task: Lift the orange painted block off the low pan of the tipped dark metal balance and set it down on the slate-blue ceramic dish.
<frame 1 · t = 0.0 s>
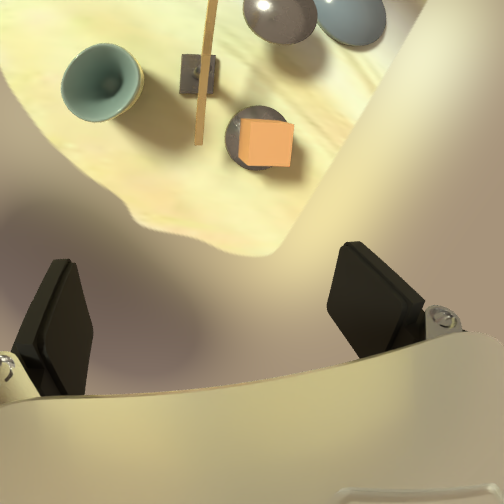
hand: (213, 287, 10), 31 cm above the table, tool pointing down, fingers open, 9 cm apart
block: (258, 138, 38), point 1 cm above the table, touching balance
cup: (115, 85, 31), on the table
balance: (260, 77, 35), on the table
dish: (348, 9, 32), on the table
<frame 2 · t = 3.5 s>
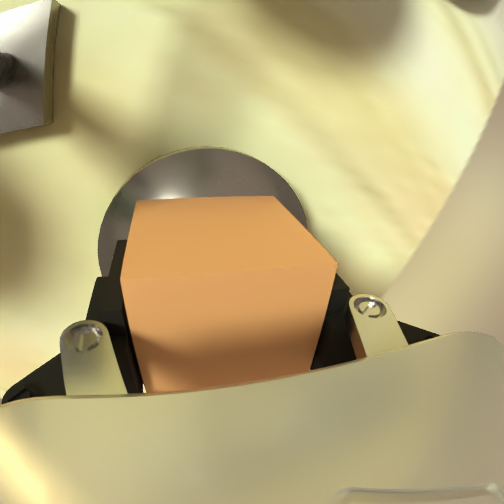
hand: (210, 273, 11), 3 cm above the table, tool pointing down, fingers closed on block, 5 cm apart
block: (206, 258, 12), point 2 cm above the table, touching balance, gripper
balance: (208, 48, 10), on the table
when the fingers open (4 cm above the table, at t = 10.7 s): block drops 1 cm, resting on dish.
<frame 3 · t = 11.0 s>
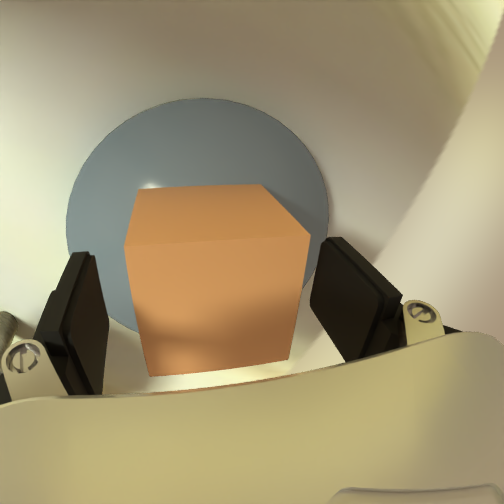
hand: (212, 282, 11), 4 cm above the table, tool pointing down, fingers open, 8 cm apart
block: (200, 241, 13), point 1 cm above the table, touching dish
balance: (50, 402, 17), on the table
dish: (198, 230, 14), on the table
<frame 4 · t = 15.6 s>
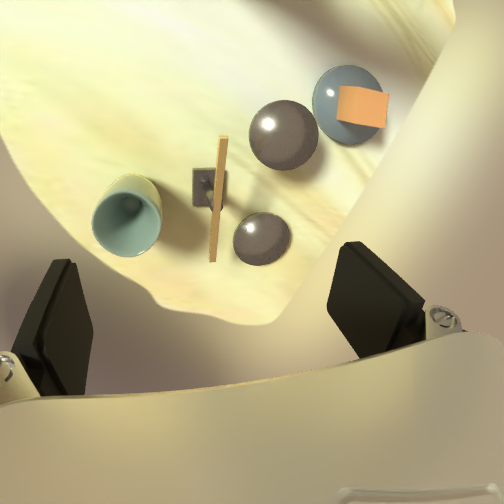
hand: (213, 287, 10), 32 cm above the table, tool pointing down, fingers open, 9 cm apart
block: (352, 105, 40), point 1 cm above the table, touching dish
cup: (134, 195, 40), on the table
balance: (263, 184, 44), on the table
dish: (348, 104, 41), on the table
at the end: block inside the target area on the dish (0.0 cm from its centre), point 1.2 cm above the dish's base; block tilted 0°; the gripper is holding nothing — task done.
